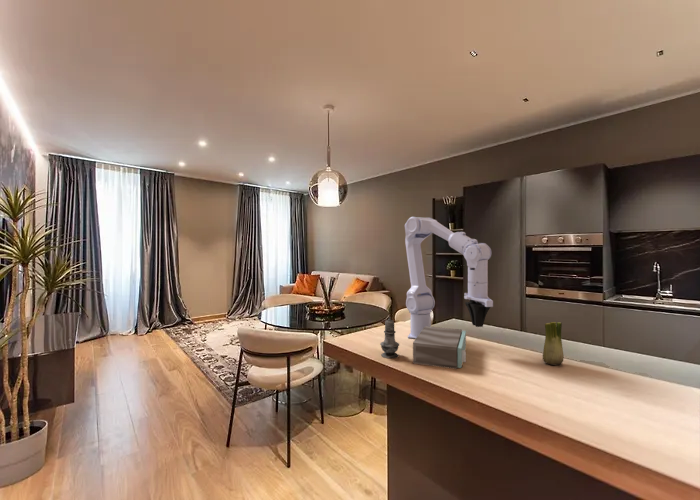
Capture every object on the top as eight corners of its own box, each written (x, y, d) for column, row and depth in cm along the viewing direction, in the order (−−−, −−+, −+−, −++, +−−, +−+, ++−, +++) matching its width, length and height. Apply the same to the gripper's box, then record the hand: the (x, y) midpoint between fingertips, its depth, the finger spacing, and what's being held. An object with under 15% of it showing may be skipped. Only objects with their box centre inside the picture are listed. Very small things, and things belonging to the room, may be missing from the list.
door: (462, 346, 108) (462, 330, 108) (469, 346, 107) (469, 330, 107) (457, 367, 90) (457, 347, 89) (465, 368, 89) (465, 348, 89)
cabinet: (424, 343, 112) (424, 326, 112) (461, 347, 108) (461, 329, 107) (413, 363, 94) (412, 342, 94) (456, 369, 89) (456, 347, 89)
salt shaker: (393, 360, 96) (393, 319, 96) (376, 356, 100) (376, 317, 100) (402, 354, 101) (402, 316, 101) (386, 351, 105) (386, 313, 104)
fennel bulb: (560, 361, 94) (560, 320, 94) (568, 367, 90) (569, 324, 89) (538, 360, 95) (538, 319, 95) (546, 366, 90) (546, 323, 90)
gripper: (455, 279, 108) (455, 320, 108) (476, 285, 93) (476, 332, 94) (475, 279, 109) (475, 320, 109) (499, 284, 94) (499, 331, 94)
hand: (477, 325), depth 101 cm, fingers closed
